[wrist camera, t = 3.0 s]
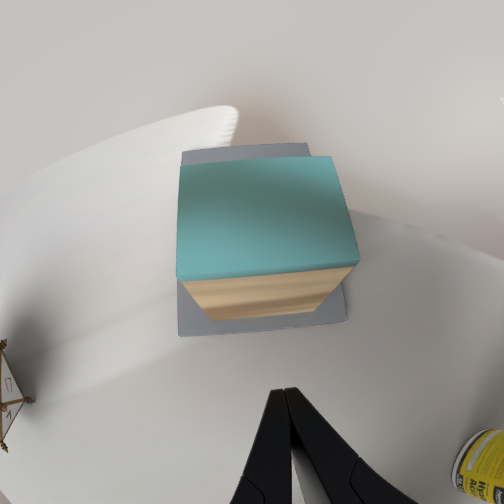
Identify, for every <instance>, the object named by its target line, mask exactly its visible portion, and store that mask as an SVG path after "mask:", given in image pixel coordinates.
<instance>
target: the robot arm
mask: <svg viewBox="0 0 504 504" xmlns="http://www.w3.org/2000/svg"><path fill="white" fill-rule="evenodd" d="M358 456H359V455H358V454H357V453H356V452H355V451H354V450H353V449H352V448H351V447H350V446H349V445H348V444H347V443H346V441H345V440H344V439H343V438H342V437H341V436H340V435H339V434H338V433H337V432H336V431H335V430H334V429H333V427H332V426H331V425H330V424H329V423H328V422H327V421H326V420H325V419H324V417H323V416H322V415H321V414H320V413H319V412H318V411H317V410H316V409H315V407H314V406H313V405H312V404H311V403H310V402H309V401H308V399H307V398H306V397H305V396H304V395H303V394H302V393H301V391H300V390H299V389H298V388H296V387H292V388H285V389H284V390H283V389H275V390H271V391H270V393H269V397H268V400H267V403H266V406H265V409H264V412H263V416H262V419H261V422H260V425H259V428H258V431H257V434H256V437H255V440H254V443H253V445H252V448H251V451H250V454H249V457H248V460H247V463H246V465H245V468H244V471H243V474H242V475H243V476H241V479H240V481H239V484H238V486H237V489H236V491H235V493H234V496H233V498H232V500H231V502H230V504H292V459H293V463H294V466H295V470H296V473H297V476H298V480H299V483H300V487H301V490H302V493H303V497H304V500H305V503H306V504H419V503H417V502H415V501H414V500H412V499H411V498H409V497H408V496H407V495H405V494H404V493H402V492H401V491H399V490H398V489H397V488H395V487H394V486H392V485H391V484H390V483H388V482H387V481H386V480H385V479H383V478H382V477H381V476H380V475H378V474H377V473H376V472H375V471H374V470H373V469H372V468H371V467H370V466H369V465H368V464H367V463H366V462H365V461H364V460H363V459H362V458H361V457H358Z"/></svg>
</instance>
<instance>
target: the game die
mask: <svg viewBox="0 0 504 504" xmlns="http://www.w3.org/2000/svg"><path fill="white" fill-rule="evenodd" d="M6 342H7V339H5V340H1V342H0V444H1V447H2V449H3V450H4V451H6V452H7V453H8V449H7V448H8V447H7V446H6V444H5V443H4V442H3V440H4V438H5V436H6V434H7V432H8V430H9V428H10V426H11V424H12V423H13V421H14V419H15V417H16V415H17V414H18V412H19V410H20V408H21V407H22V405H23V403H24V402H27V403H30V404H31V403H33V402H35V401H34V400H33V399H32V398H31V397H28V396H27V397H24V395H23V393H22V392H21V390H20V388H19V386H18V384H17V382H16V380H15V378H14V375H13V373H12V371H11V369H10V367H9V365H8V362H7V360H6V358H5V355H4V353H3V351H2V349H5V346H7V344H6Z"/></svg>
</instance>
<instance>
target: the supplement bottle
mask: <svg viewBox="0 0 504 504" xmlns="http://www.w3.org/2000/svg"><path fill="white" fill-rule="evenodd" d="M452 481H453V484H454V486H455V487H456V488H457V489H458V490H460V491H462V492H464V493H467V494H469V495H471V496H474V497H476V498H479V499H482V500H484V501H487V502H490V503H493V504H504V430H495V429H486V430H482V431H480V432H478V433H477V434H475V435H474V436H473V437H472V438H471V439H470V440H469V441H468V442H467V443H466V444H465V446H464V447H463V449H462V450H461V452H460V454H459V455H458V457H457V460H456V462H455V464H454V468H453V472H452Z"/></svg>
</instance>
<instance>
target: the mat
mask: <svg viewBox="0 0 504 504" xmlns="http://www.w3.org/2000/svg"><path fill="white" fill-rule="evenodd" d="M283 157H311V155H310V152H309V148H308V145H307V143H285V144H261V145H245V146H232V147H221V148H211V149H201V150H193V151H185V152H182V161H181V166H186V165H194V164H203V163H213V162H223V161H235V160H248V159H263V158H283ZM177 309H178V335H179V336H203V335H220V334H234V333H246V332H258V331H268V330H278V329H287V328H296V327H304V326H312V325H319V324H326V323H333V322H340V321H345V320H347V313H346V307H345V301H344V296H343V290H342V285H341V282H340V283H339V284H338V286H337V287H336V288H335V289H334V290H333V291H332V292H331V293H330V294H329V295H328V297H327V298H326V299H325V300H324V301H323V302H322V303H321V304H320V305H319V306H318V307H317V308H316V309H315V310H314V311H311V312H302V313H294V314H285V315H275V316H265V317H254V318H243V319H230V320H216V321H211V320H210V319H209V317H208V316H207V315H206V314H205V312H204V311H203V310H202V309H201V307H200V306H199V305H198V304H197V302H196V301H195V300H194V298H193V297H192V296H191V294H190V293H189V292H188V291H187V289H186V288H185V287H184V285H183V284H182V283H181V282H180V281H179V279H178V278H177Z"/></svg>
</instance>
